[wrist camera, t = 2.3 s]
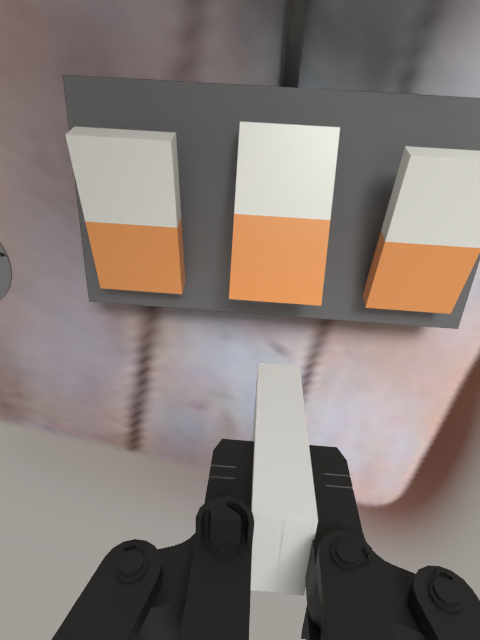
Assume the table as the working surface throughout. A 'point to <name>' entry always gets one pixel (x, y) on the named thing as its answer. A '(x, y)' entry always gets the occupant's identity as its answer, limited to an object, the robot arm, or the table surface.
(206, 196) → the power strip
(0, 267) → the wine glass
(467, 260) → the switch
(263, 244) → the switch middle
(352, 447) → the table surface
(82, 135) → the switch
